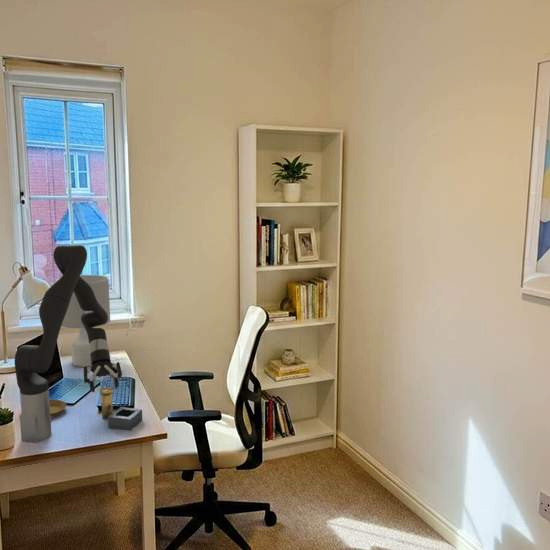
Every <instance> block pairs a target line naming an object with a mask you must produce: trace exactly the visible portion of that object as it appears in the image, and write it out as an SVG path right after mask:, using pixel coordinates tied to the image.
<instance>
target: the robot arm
mask: <svg viewBox="0 0 550 550" xmlns="http://www.w3.org/2000/svg"><path fill="white" fill-rule="evenodd" d="M87 259H88V250H87V249H86V247H85V246H84V245H82V244H81V245H80V244H60V245H57V246H56V247H55V249H54V251H53V261H54V264H55V266H56V267H57V268H58V270H59V271H60V273H61V274H62V276H61V277H60V279H59V278H58V279H59V280H58V281H57V282H56V281H55V282H54V283H53V284H52V285H51V286H50V287H49V288H48V289H47V290H46V291H45V293H44V294H43V298H42V300H41V302H40V305H39V308H38V315H39V319H40V323H41V325H42V330H43V334H42V338H41V341H40V344H39V345H33V344H32V345H30V344H24V345H21V346H19V347H18V348H17V350H16V352H15V353H14V370H15V377H16V384H17V387H18V389H19V397H20V411H21V412H20V413H21V414H19V423H20V425H19V427H20V437H21V439H20V440H21V441H22V442H28V443H34V444H36V443H38V442H42V441H45V440H47V439H49V438H50V437H51V436H52V421H51V420H52V417H50V402H49V400H50V390H49V389H50V388H49V381H48V380H47V379H46V378H44V377H42V376H41V375H39V374H44V373H46V372H47V371H48V370H49V368H50V367H51V365H52V362H53V359H54V355H55V350H56V347H57V346H56V345H57V341H58V338H59V336H60V331H61V329H62V323H63V320H64V317H65V315H66V312H67V309H68V306H69V303H70V300H71V297H72V294H73V292H74V294H75V296H76V299H77V301H78V303H79V306H80V308H81V309H82V310H83V311H88V312H85V313H83V314H82V316H81V322H82V324H83V326H84V328H85V330H86V332H87V335H88V340H89V354H90V359H91V366H85V367H83V383H85V384H89V390H90V392H91V393H95V384H94V382H95V380H96V378H97V377H98V378H101V377H107V376H109V377H110V378H111V379H113V384H114V389H115V390H117V389H118V388H119V384H120V383H119V379H122V376H123V371H122V368H121V365H120V364H121V363H120V362H119V361H117V362H116V363H114V364H113V363H112V360H111V355H110V349H109V348H110V347H109V344H108V340H107V334H106V330H105V329H104V328H102V327H101V326H103V325H104V326H105V325H107V324H108V323H107V321H108V315H107V313H106V311H105V310H104V309H103V308H102V307H101V305H100V304H99V303H98V301H97V300H96V297H95V295H94V292H93V290H92V288H91V287H90V285H89V284H88V283H87V282H86V281H85V280H84V279H82V278H81V277H80V275H82V273H83V271H84V268H85V265H86V263H87ZM113 368H114V370H113ZM115 370H116V372H117V373H116V372H115ZM90 371H91V373H92V374H91V376H90V377H88V376H89V375H88V374H89V373H90Z"/></svg>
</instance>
